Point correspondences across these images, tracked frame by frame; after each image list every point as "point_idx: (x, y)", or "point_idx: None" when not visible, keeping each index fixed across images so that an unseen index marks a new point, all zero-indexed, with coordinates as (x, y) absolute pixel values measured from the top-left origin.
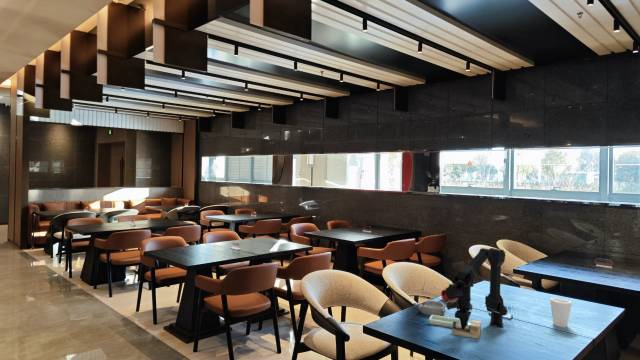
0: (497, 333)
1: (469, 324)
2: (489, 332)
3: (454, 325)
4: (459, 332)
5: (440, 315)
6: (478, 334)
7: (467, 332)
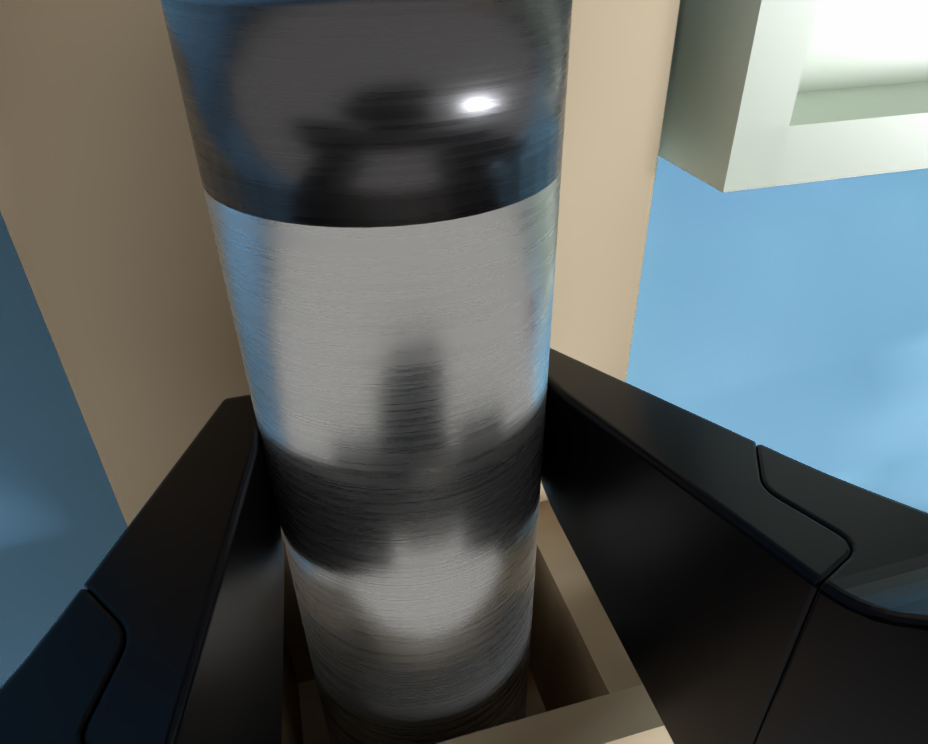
0: None
1: (401, 688)
2: None
3: (189, 113)
4: (46, 314)
5: None
6: None
7: None
